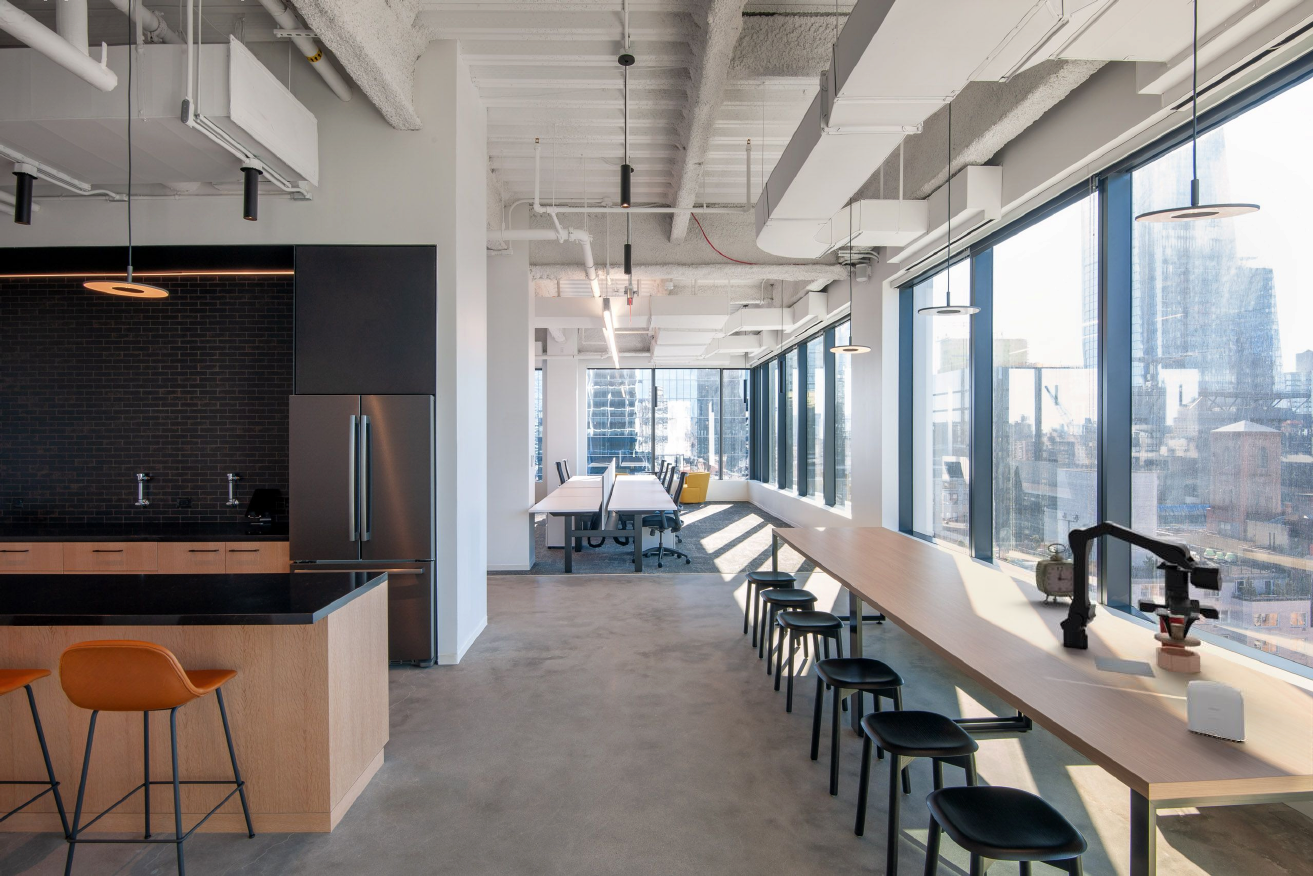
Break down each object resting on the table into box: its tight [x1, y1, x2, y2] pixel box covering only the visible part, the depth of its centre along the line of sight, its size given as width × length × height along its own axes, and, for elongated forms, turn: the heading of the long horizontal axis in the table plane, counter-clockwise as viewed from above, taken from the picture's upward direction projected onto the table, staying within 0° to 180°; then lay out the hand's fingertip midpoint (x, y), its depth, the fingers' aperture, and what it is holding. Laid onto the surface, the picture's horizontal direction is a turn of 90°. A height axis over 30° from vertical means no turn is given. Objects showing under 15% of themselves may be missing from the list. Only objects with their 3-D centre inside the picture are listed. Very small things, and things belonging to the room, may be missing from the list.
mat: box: [1094, 655, 1156, 678], centre depth 200 cm, size 14×14×1 cm
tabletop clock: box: [1035, 542, 1073, 604], centre depth 279 cm, size 14×9×25 cm, turn 81°
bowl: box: [1155, 646, 1201, 674], centre depth 199 cm, size 10×10×5 cm
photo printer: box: [1186, 680, 1246, 741], centre depth 155 cm, size 10×4×12 cm, turn 47°
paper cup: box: [1158, 611, 1186, 649], centre depth 213 cm, size 8×8×14 cm
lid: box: [1153, 624, 1202, 648], centre depth 199 cm, size 11×11×5 cm
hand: (1176, 637), depth 199 cm, fingers closed on lid, 3 cm apart
